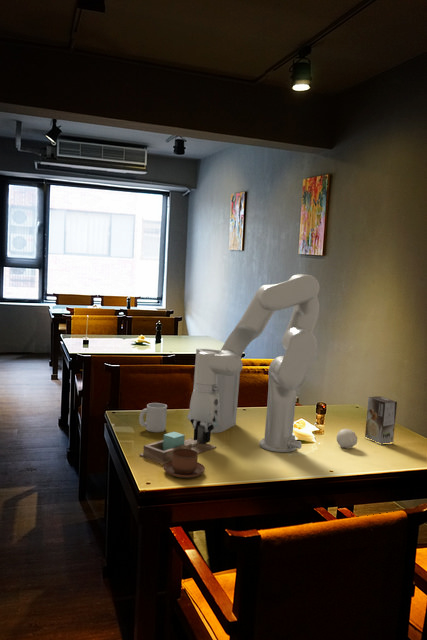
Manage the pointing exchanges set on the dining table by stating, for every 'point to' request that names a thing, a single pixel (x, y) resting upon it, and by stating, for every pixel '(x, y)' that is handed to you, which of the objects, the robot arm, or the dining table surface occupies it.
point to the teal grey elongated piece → (180, 438)
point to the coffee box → (380, 419)
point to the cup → (154, 417)
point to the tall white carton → (225, 397)
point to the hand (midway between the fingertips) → (201, 440)
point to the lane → (171, 450)
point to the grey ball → (346, 438)
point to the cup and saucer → (184, 464)
